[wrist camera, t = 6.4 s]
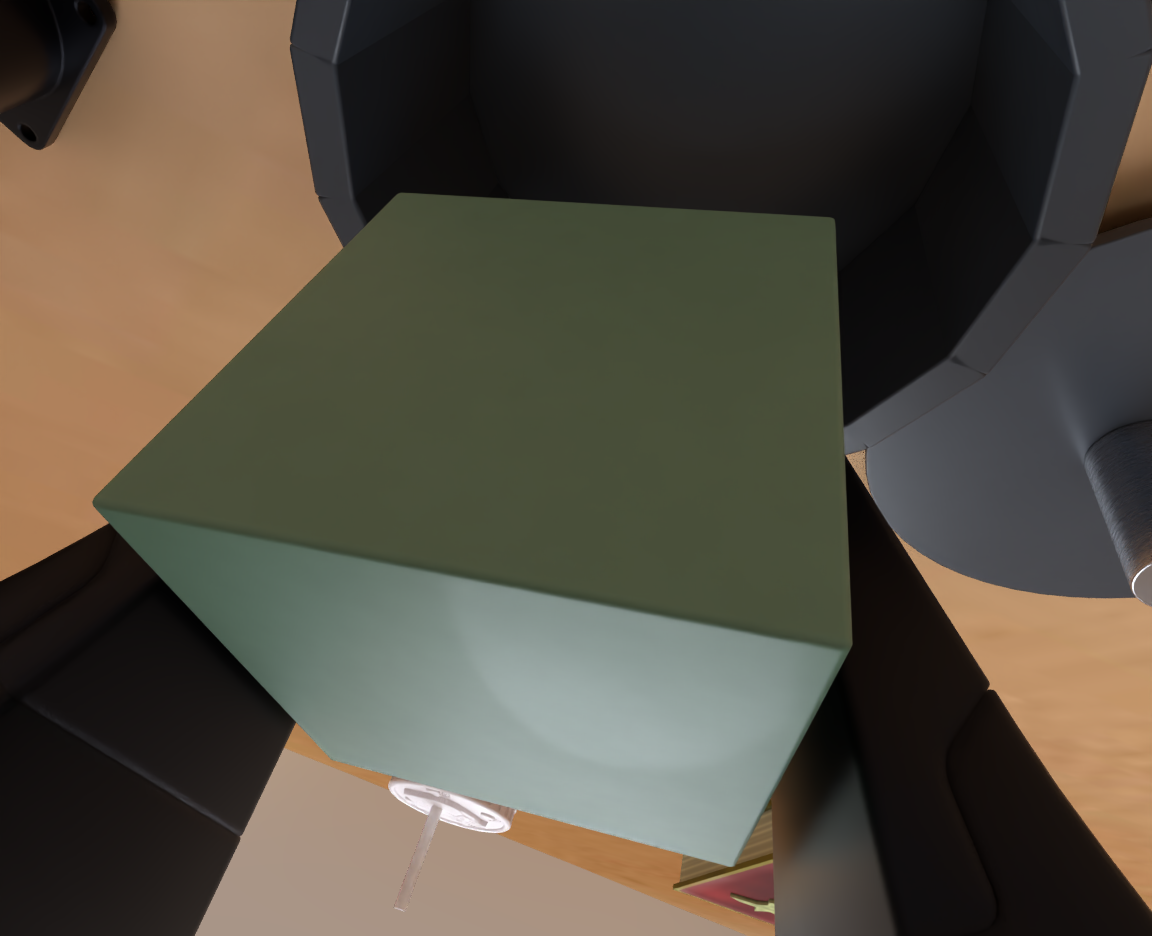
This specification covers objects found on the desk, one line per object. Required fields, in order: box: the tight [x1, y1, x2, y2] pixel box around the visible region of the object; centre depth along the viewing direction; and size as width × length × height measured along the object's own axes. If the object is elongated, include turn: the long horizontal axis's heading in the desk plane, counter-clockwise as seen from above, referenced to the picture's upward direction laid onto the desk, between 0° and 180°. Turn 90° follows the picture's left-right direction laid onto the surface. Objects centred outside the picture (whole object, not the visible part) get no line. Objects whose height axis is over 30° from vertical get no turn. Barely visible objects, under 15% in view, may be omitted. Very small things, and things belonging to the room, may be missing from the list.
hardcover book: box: [673, 800, 775, 926], centre depth 50 cm, size 12×21×4 cm, turn 166°
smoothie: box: [388, 776, 517, 911], centre depth 33 cm, size 6×6×14 cm
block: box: [92, 193, 853, 867], centre depth 7 cm, size 5×5×5 cm
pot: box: [290, 0, 1152, 455], centre depth 13 cm, size 13×18×6 cm
